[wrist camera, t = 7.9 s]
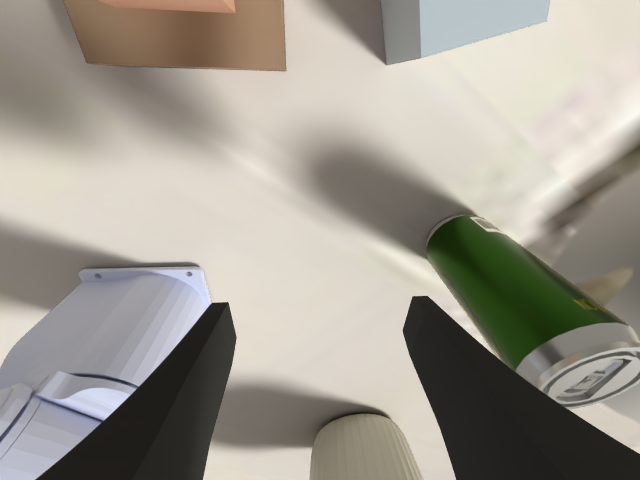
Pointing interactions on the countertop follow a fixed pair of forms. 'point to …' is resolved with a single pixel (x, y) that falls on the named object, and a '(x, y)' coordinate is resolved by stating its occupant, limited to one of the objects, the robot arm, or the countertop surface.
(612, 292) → the countertop surface
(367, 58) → the countertop surface
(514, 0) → the slate cube
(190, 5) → the terracotta cube
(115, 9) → the walnut slab
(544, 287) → the beer can
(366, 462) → the canister
